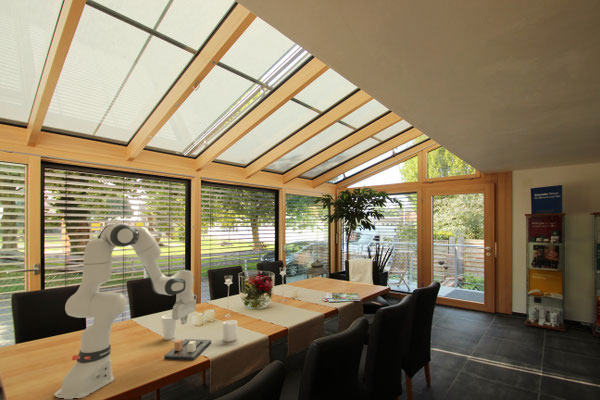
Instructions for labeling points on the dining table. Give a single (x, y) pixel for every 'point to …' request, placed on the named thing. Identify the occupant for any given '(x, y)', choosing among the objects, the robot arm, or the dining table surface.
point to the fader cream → (191, 346)
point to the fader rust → (178, 345)
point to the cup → (230, 330)
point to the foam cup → (169, 326)
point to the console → (185, 355)
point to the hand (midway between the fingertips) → (184, 323)
